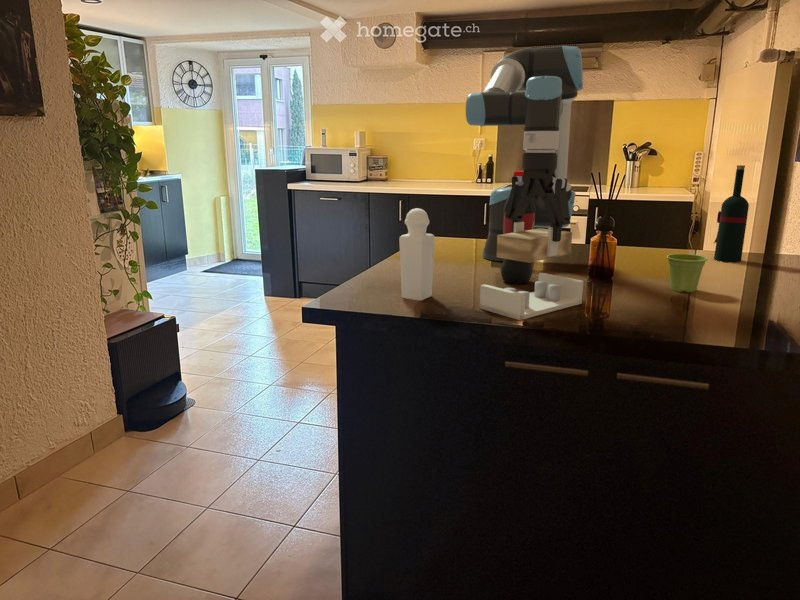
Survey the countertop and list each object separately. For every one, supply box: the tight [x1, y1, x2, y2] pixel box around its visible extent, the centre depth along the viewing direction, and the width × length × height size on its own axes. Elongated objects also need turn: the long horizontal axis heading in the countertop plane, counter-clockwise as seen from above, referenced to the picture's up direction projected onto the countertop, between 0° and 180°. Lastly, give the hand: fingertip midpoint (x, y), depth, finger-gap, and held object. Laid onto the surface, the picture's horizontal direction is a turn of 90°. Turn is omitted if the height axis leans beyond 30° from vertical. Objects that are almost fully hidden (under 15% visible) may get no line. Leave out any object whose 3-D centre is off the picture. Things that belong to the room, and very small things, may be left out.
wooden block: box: [497, 227, 573, 264], centre depth 133 cm, size 16×9×5 cm, turn 132°
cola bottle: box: [500, 170, 536, 285], centre depth 157 cm, size 8×8×30 cm
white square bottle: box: [398, 207, 436, 302], centre depth 142 cm, size 6×6×22 cm
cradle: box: [479, 272, 584, 321], centre depth 136 cm, size 22×12×6 cm, turn 127°
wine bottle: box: [713, 164, 750, 264], centre depth 186 cm, size 8×10×30 cm
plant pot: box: [666, 253, 708, 293], centre depth 150 cm, size 9×9×9 cm
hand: (534, 252), depth 134 cm, fingers closed on wooden block, 9 cm apart
